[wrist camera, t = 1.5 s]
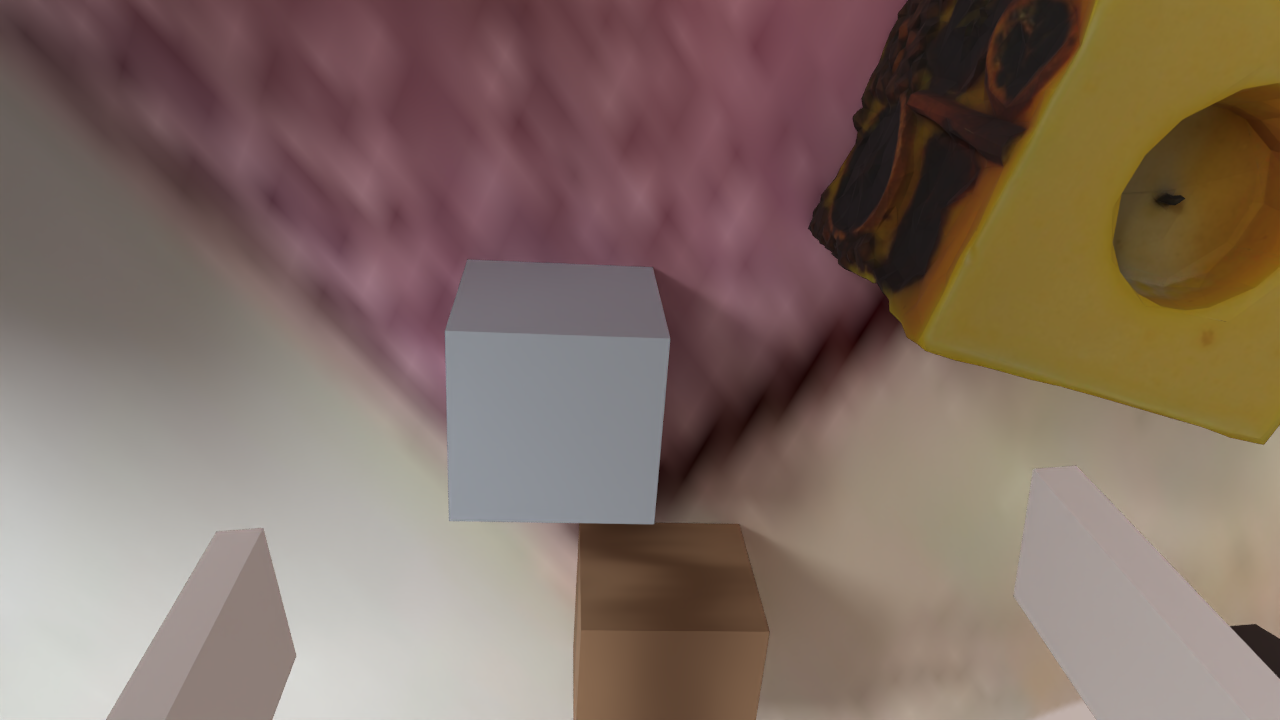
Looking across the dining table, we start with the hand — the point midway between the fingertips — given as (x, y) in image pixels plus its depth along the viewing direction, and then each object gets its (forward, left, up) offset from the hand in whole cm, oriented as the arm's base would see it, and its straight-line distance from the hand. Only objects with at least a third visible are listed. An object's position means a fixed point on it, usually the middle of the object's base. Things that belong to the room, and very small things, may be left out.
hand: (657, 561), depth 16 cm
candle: (+12, +5, -16) cm, 21 cm away
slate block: (-2, -3, -16) cm, 16 cm away
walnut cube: (+2, -13, -16) cm, 21 cm away
